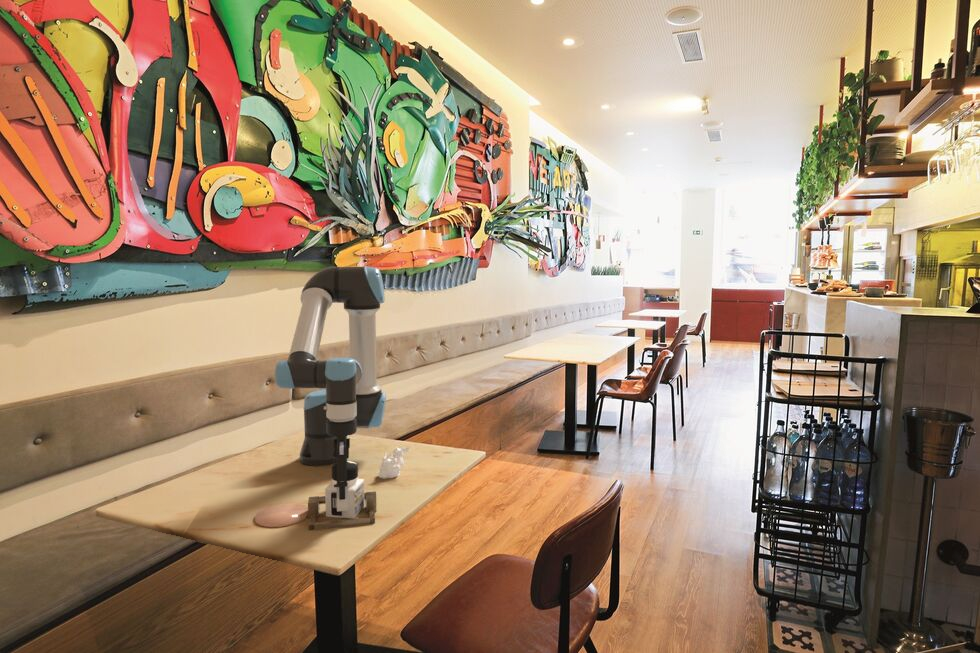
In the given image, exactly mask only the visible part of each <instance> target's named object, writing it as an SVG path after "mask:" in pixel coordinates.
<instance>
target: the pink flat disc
mask: <svg viewBox="0 0 980 653" xmlns="http://www.w3.org/2000/svg"><path fill="white" fill-rule="evenodd" d="M307 518H308V505H305V504H302V503H295V502H294V503H293V502H292V503H291V502H289V503H287V502H286V503H279V504H275V505H271V506H268V507H265V508H263V509H260V510H259V511H258V512H257V513H256V514H255V515H254V522H255V523H256V524H257V525H258V526H261V527H265V528H281V527H282V528H283V527H288V526H292V525H295V524H298V523H301V522H302V521H305V520H306V519H307Z"/></svg>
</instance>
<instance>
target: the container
mask: <svg viewBox="0 0 980 653" xmlns="http://www.w3.org/2000/svg"><path fill="white" fill-rule="evenodd" d="M358 466H359V465H358V464H357V463H356V462H354V461H351V460H347V483H348V511H338V512H337V487H334V485H335V484H337V463H335V464H332V466H331V483H330V484H329V485H327V487H325V490H324V492H325V494H324V496H325V500H326V502H325V517H326V518H338V519H356V517H357V516H358V514H360V512H361V511H362V510H363V509H364V507H365V498H364V493H365V479H364V478H359V467H358ZM342 482H344V481H342Z"/></svg>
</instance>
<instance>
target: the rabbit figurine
mask: <svg viewBox="0 0 980 653" xmlns="http://www.w3.org/2000/svg"><path fill="white" fill-rule="evenodd" d="M409 451H410V446H406V447H402V448H398V447H397V446H395V448H394V449H393V453H392V454H391V453H390V454H388V452H387V451H385V453H384V457H382V461H381V462H382V463H381V464H380V467H379V472H377V473H378V477H379V478H380V479H383V480H385V479H393V478H396V477H399V476H401V469H402V468H403V467H404V464H405V463H404V462H405V461H404V453H408V452H409ZM387 454H388V455H387Z"/></svg>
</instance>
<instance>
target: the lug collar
mask: <svg viewBox="0 0 980 653" xmlns="http://www.w3.org/2000/svg"><path fill="white" fill-rule="evenodd" d="M364 499H365V507H366V508H365V510H366V513H367V514H368V513H369V517H362V518H354V519H351V518H349V519H342V520H331V521H321V522H316V520H317V518H319V516H320V503H326V500H325V495H324V496H323V495H322V496H318V495H317V496H309V497H308V501H307V507H308V517H307V518H308V519H309V521H308V530H309V531H311V530H322V529H331V528H332V529H333V528H340V527H342V528H344V527H352V526H362V525H363V526H364V525H369V524H371V525H373V524H375V523H376V516H375V513H376V512H377V492H376V491H366V492H364Z"/></svg>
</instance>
